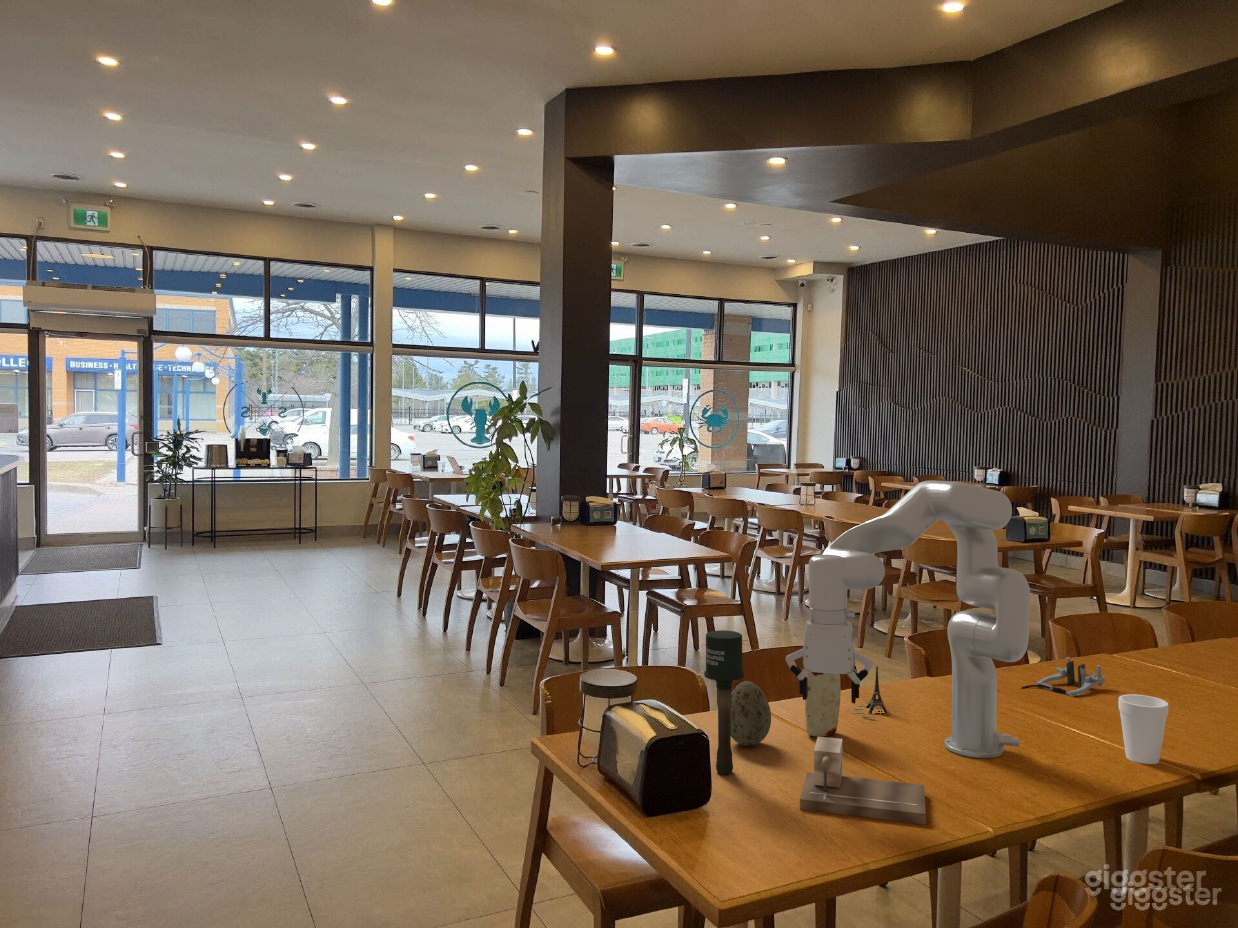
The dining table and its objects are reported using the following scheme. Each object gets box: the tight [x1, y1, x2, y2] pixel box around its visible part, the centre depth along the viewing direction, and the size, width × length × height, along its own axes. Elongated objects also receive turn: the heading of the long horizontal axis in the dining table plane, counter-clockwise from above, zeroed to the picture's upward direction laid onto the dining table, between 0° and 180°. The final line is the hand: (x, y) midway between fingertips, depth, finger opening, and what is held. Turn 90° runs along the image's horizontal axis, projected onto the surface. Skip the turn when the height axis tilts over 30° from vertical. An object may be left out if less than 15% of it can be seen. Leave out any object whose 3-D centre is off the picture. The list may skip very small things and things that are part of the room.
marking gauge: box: [813, 736, 843, 792], centre depth 177 cm, size 5×13×9 cm, turn 162°
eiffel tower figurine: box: [853, 665, 890, 722], centre depth 229 cm, size 15×10×13 cm
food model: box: [804, 672, 842, 738], centre depth 211 cm, size 10×7×20 cm
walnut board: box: [799, 771, 927, 825], centre depth 173 cm, size 23×14×2 cm, turn 72°
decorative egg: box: [731, 680, 772, 747], centre depth 205 cm, size 11×11×15 cm
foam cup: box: [1118, 693, 1169, 765], centre depth 194 cm, size 10×9×13 cm
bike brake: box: [1020, 656, 1106, 698], centre depth 246 cm, size 14×7×20 cm
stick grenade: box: [703, 629, 745, 776], centre depth 188 cm, size 8×9×30 cm
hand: (829, 699), depth 178 cm, fingers open, 9 cm apart
